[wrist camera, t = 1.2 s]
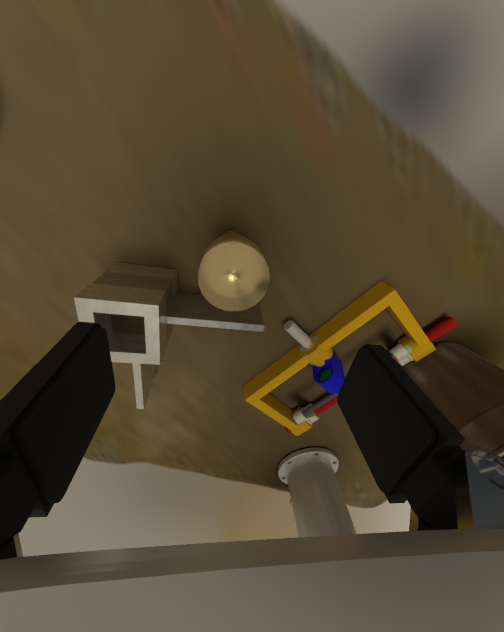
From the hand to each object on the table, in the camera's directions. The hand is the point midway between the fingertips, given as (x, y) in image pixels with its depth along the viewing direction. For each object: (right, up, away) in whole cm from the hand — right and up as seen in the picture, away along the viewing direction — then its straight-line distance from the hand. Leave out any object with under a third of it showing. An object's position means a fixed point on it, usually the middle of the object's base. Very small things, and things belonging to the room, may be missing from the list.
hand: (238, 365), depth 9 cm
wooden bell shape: (-2, +10, +18) cm, 21 cm away
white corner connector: (-8, 0, +23) cm, 24 cm away
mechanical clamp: (+12, -3, +28) cm, 30 cm away
